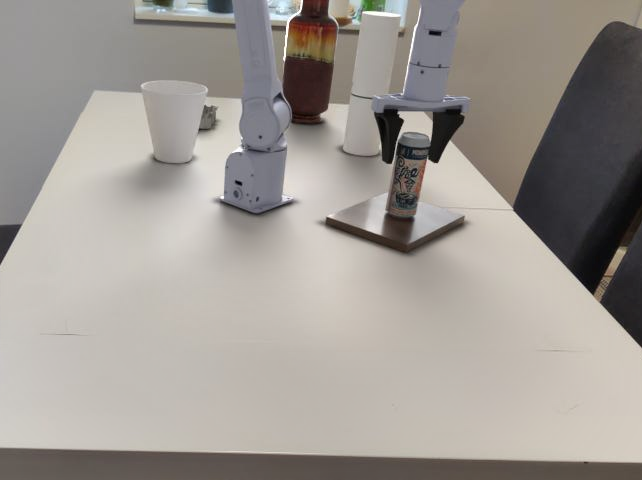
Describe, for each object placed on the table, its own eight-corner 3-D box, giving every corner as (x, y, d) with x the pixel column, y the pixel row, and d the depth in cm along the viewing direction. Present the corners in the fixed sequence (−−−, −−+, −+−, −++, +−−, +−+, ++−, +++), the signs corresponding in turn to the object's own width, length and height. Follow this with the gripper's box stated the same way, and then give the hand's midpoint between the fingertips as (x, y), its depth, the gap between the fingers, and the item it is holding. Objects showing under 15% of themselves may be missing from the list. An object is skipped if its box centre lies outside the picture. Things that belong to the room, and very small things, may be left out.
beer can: (387, 218, 107) (401, 138, 101) (382, 207, 111) (396, 130, 105) (418, 220, 107) (435, 141, 101) (412, 209, 111) (428, 132, 105)
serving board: (405, 252, 100) (407, 244, 99) (325, 223, 107) (326, 216, 106) (463, 222, 111) (465, 215, 111) (387, 198, 119) (388, 191, 118)
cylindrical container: (377, 147, 146) (399, 13, 132) (379, 157, 140) (403, 17, 126) (342, 144, 146) (361, 10, 133) (343, 153, 140) (363, 14, 127)
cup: (162, 170, 124) (162, 96, 117) (129, 152, 131) (128, 82, 125) (218, 162, 130) (221, 91, 123) (183, 145, 138) (184, 78, 131)
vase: (272, 113, 165) (282, -13, 151) (315, 112, 168) (330, -11, 154) (288, 125, 156) (301, -7, 142) (334, 124, 160) (351, -5, 146)
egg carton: (187, 116, 158) (187, 96, 156) (219, 119, 157) (220, 100, 155) (174, 127, 149) (175, 106, 147) (209, 130, 148) (210, 110, 146)
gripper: (460, 59, 103) (440, 153, 110) (369, 57, 99) (354, 154, 106) (486, 69, 97) (463, 167, 104) (391, 67, 93) (374, 169, 101)
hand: (410, 161), depth 105 cm, fingers open, 7 cm apart
